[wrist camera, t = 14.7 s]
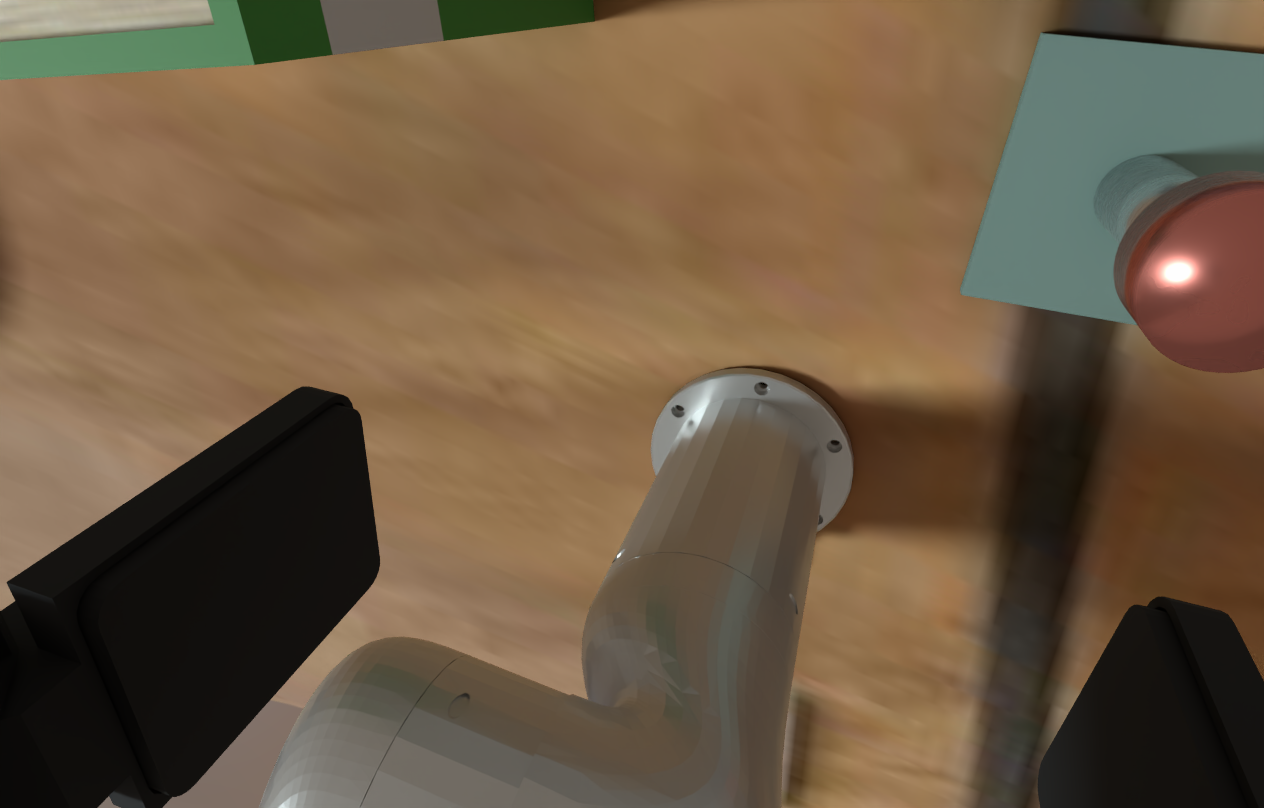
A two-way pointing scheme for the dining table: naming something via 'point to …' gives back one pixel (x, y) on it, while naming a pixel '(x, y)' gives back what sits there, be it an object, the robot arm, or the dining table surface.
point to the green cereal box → (243, 30)
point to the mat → (1103, 159)
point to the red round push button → (1189, 259)
